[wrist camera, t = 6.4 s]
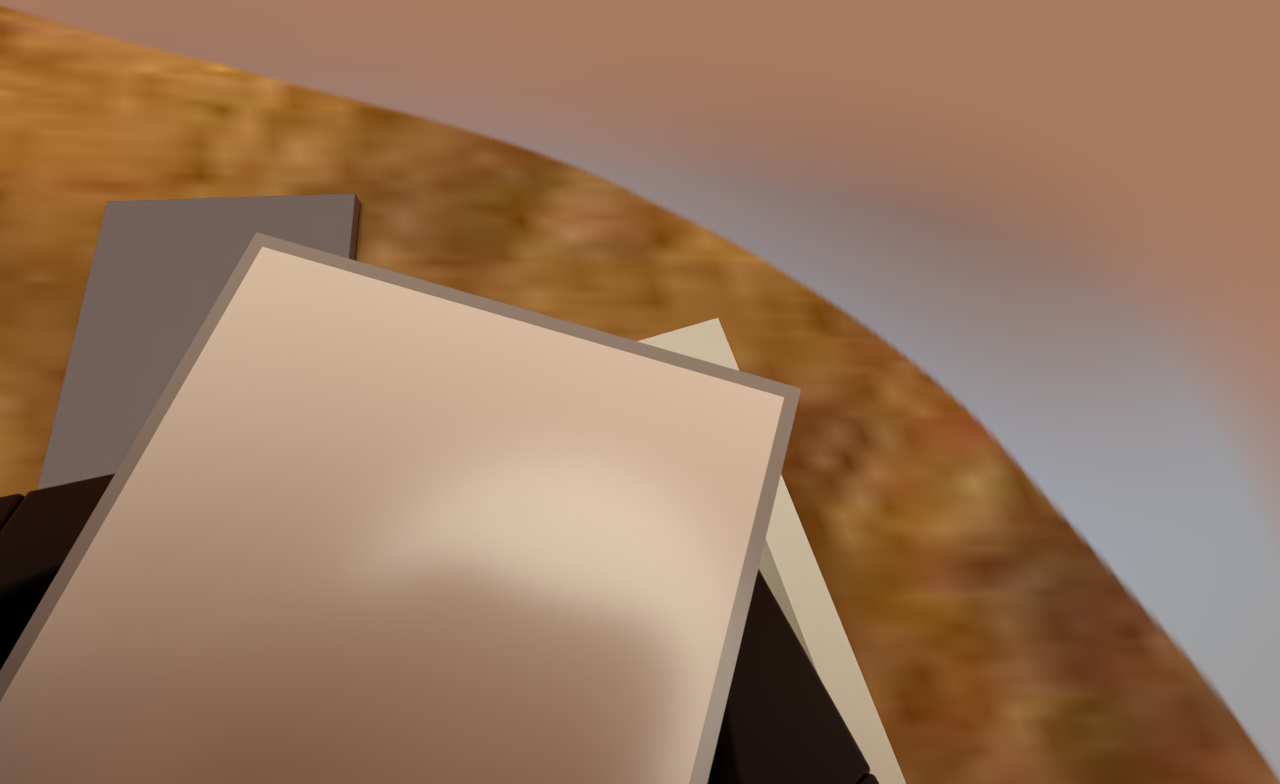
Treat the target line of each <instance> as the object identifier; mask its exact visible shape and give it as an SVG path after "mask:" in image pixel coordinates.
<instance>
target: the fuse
mask: <svg viewBox="0 0 1280 784" xmlns="http://www.w3.org/2000/svg"><path fill="white" fill-rule="evenodd" d="M800 391H801V388H797V387H794V386H790V385H787V384H783V383H780V382H776V381H773V380H770V379H766V378H763V377H759V376H756V375H752V374H749V373H745V372H742V371H738V370H735V369H731V368H728V367H724V366H721V365H717V364H714V363H710V362H707V361H703V360H700V359H696V358H693V357H689V356H686V355H682V354H679V353H675V352H672V351H668V350H665V349H662V348H658V347H655V346H651V345H648V344H644V343H641V342H637V341H634V340H630V339H627V338H623V337H620V336H616V335H613V334H609V333H606V332H602V331H599V330H595V329H592V328H588V327H585V326H581V325H578V324H574V323H571V322H567V321H564V320H561V319H557V318H554V317H550V316H547V315H543V314H540V313H536V312H533V311H529V310H526V309H522V308H519V307H515V306H512V305H508V304H505V303H501V302H498V301H494V300H491V299H487V298H484V297H480V296H477V295H473V294H470V293H466V292H463V291H460V290H456V289H453V288H449V287H446V286H442V285H439V284H435V283H432V282H428V281H425V280H421V279H418V278H414V277H411V276H407V275H404V274H400V273H397V272H393V271H390V270H386V269H383V268H379V267H376V266H372V265H369V264H365V263H362V262H359V261H355V260H352V259H348V258H345V257H341V256H338V255H334V254H331V253H327V252H324V251H320V250H317V249H313V248H310V247H306V246H303V245H299V244H296V243H292V242H289V241H285V240H282V239H278V238H275V237H271V236H268V235H264V234H261V233H258V232H256V234H255V235H254V237H253V239H252V241H251V242H250V244H249V246H248V247H247V249H246V251H245V253H244V254H243V256H242V258H241V259H240V261H239V263H238V264H237V266H236V268H235V270H234V271H233V273H232V275H231V276H230V278H229V280H228V282H227V283H226V285H225V287H224V288H223V290H222V292H221V294H220V295H219V297H218V299H217V300H216V302H215V304H214V306H213V307H212V309H211V311H210V312H209V314H208V316H207V318H206V319H205V321H204V323H203V324H202V326H201V328H200V330H199V331H198V333H197V335H196V336H195V338H194V340H193V342H192V343H191V345H190V347H189V348H188V350H187V352H186V354H185V355H184V357H183V359H182V360H181V362H180V364H179V365H178V367H177V369H176V371H175V372H174V374H173V376H172V377H171V379H170V381H169V383H168V384H167V386H166V388H165V389H164V391H163V393H162V395H161V396H160V398H159V400H158V401H157V403H156V405H155V407H154V408H153V410H152V412H151V413H150V415H149V417H148V419H147V420H146V422H145V424H144V425H143V427H142V429H141V431H140V432H139V434H138V436H137V437H136V439H135V441H134V443H133V444H132V446H131V448H130V449H129V451H128V453H127V455H126V456H125V458H124V460H123V461H122V463H121V465H120V467H119V468H118V470H117V472H116V473H115V475H114V477H113V478H112V480H111V482H110V484H109V485H108V487H107V489H106V490H105V492H104V494H103V496H102V497H101V499H100V501H99V502H98V504H97V506H96V508H95V509H94V511H93V513H92V514H91V516H90V518H89V520H88V521H87V523H86V525H85V526H84V528H83V530H82V532H81V533H80V535H79V537H78V538H77V540H76V542H75V544H74V545H73V547H72V549H71V550H70V552H69V554H68V556H67V557H66V559H65V561H64V562H63V564H62V566H61V568H60V569H59V571H58V573H57V574H56V576H55V578H54V580H53V581H52V583H51V585H50V586H49V588H48V590H47V591H46V593H45V595H44V597H43V598H42V600H41V602H40V603H39V605H38V607H37V609H36V610H35V612H34V614H33V615H32V617H31V619H30V621H29V622H28V624H27V626H26V627H25V629H24V631H23V633H22V634H21V636H20V638H19V639H18V641H17V643H16V645H15V646H14V648H13V650H12V651H11V653H10V655H9V657H8V658H7V660H6V662H5V663H4V665H3V667H2V669H1V670H0V784H707V783H708V778H709V774H710V770H711V766H712V762H713V757H714V753H715V749H716V745H717V740H718V736H719V732H720V728H721V724H722V719H723V715H724V711H725V707H726V703H727V698H728V694H729V690H730V686H731V682H732V677H733V673H734V669H735V665H736V661H737V656H738V652H739V648H740V644H741V640H742V635H743V631H744V627H745V623H746V619H747V614H748V610H749V606H750V602H751V598H752V593H753V589H754V585H755V581H756V576H757V572H758V568H759V564H760V560H761V555H762V551H763V547H764V543H765V539H766V534H767V530H768V526H769V522H770V518H771V513H772V509H773V505H774V501H775V497H776V492H777V488H778V484H779V480H780V476H781V471H782V467H783V463H784V459H785V455H786V450H787V446H788V442H789V438H790V434H791V429H792V425H793V421H794V417H795V412H796V408H797V404H798V400H799V396H800Z"/></svg>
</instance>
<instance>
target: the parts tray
mask: <svg viewBox="0 0 1280 784" xmlns="http://www.w3.org/2000/svg"><path fill="white" fill-rule="evenodd" d="M637 342H641V343H644V344H648V345H651V346H655V347H658V348H662V349H665V350H668V351H672V352H675V353H679V354H682V355H686V356H689V357H693V358H696V359H700V360H703V361H707V362H710V363H714V364H717V365H721V366H724V367H728V368H731V369H735V370H738V371H739V369H738V366H737V364H736V361H735V359H734V356H733V354H732V351H731V349H730V347H729V344H728V342H727V339H726V337H725V334H724V332H723V329H722V327H721V324H720V322H719V319H718V318H716V319H713V320H709V321H706V322H703V323H699V324H696V325H692V326H689V327H685V328H682V329H678V330H675V331H671V332H668V333H665V334H661V335H658V336H654V337H651V338H647V339H644V340H640V341H637ZM759 570H760V572H761V573H762V575H763V577H764V579H765V581H766V582H767V584H768V586H769V588H770V590H771V591H772V593H773V595H774V597H775V598H776V600H777V602H778V604H779V606H780V607H781V609H782V611H783V613H784V615H785V616H786V618H787V620H788V622H789V623H790V625H791V627H792V629H793V631H794V632H795V634H796V636H797V638H798V640H799V641H800V643H801V645H802V647H803V649H804V650H805V652H806V654H807V656H808V657H809V659H810V661H811V663H812V665H813V666H814V668H815V670H816V672H817V674H818V675H819V677H820V679H821V681H822V682H823V684H824V686H825V688H826V690H827V691H828V693H829V695H830V697H831V699H832V700H833V702H834V704H835V706H836V707H837V709H838V711H839V713H840V715H841V716H842V718H843V720H844V722H845V724H846V725H847V727H848V729H849V731H850V733H851V734H852V736H853V738H854V740H855V741H856V743H857V745H858V747H859V749H860V750H861V752H862V754H863V756H864V758H865V759H866V761H867V763H868V765H869V767H870V773H869V774H873V775H875V777H876V778H877V780H878V782H879V784H906V782H905V780H904V777H903V775H902V772H901V770H900V767H899V765H898V762H897V760H896V757H895V755H894V752H893V750H892V747H891V745H890V743H889V740H888V738H887V735H886V733H885V730H884V728H883V725H882V723H881V720H880V718H879V715H878V713H877V710H876V708H875V705H874V703H873V700H872V698H871V695H870V693H869V691H868V688H867V686H866V683H865V681H864V678H863V676H862V673H861V671H860V668H859V666H858V663H857V661H856V658H855V656H854V653H853V651H852V648H851V646H850V644H849V641H848V639H847V636H846V634H845V631H844V629H843V626H842V624H841V621H840V619H839V616H838V614H837V611H836V609H835V606H834V604H833V601H832V599H831V596H830V594H829V592H828V589H827V587H826V584H825V582H824V579H823V577H822V574H821V572H820V569H819V567H818V564H817V562H816V559H815V557H814V554H813V552H812V549H811V547H810V545H809V542H808V540H807V537H806V535H805V532H804V530H803V527H802V525H801V522H800V520H799V517H798V515H797V512H796V510H795V507H794V505H793V502H792V500H791V497H790V495H789V493H788V490H787V488H786V485H785V483H784V480H783V478H782V475H781V476H780V480H779V484H778V488H777V492H776V497H775V501H774V505H773V509H772V513H771V518H770V522H769V526H768V530H767V534H766V539H765V543H764V547H763V551H762V555H761V560H760V564H759Z"/></svg>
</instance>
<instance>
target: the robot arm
mask: <svg viewBox="0 0 1280 784" xmlns="http://www.w3.org/2000/svg"><path fill="white" fill-rule="evenodd" d="M114 475H115V473H114V474H109V475H104V476H100V477H95V478H90V479H86V480H81V481H76V482H72V483H67V484H62V485H57V486H53V487H48V488H43V489H39V490H34V491H30V492H28V493H27V494H26V496H25V497H24V496H23V495H22V494H14V495H9V496H5V497H0V670H1V669H2V667H3V665H4V663H5V662H6V660H7V658H8V657H9V655H10V653H11V651H12V650H13V648H14V646H15V645H16V643H17V641H18V639H19V638H20V636H21V634H22V633H23V631H24V629H25V627H26V626H27V624H28V622H29V621H30V619H31V617H32V615H33V614H34V612H35V610H36V609H37V607H38V605H39V603H40V602H41V600H42V598H43V597H44V595H45V593H46V591H47V590H48V588H49V586H50V585H51V583H52V581H53V580H54V578H55V576H56V574H57V573H58V571H59V569H60V568H61V566H62V564H63V562H64V561H65V559H66V557H67V556H68V554H69V552H70V550H71V549H72V547H73V545H74V544H75V542H76V540H77V538H78V537H79V535H80V533H81V532H82V530H83V528H84V526H85V525H86V523H87V521H88V520H89V518H90V516H91V514H92V513H93V511H94V509H95V508H96V506H97V504H98V502H99V501H100V499H101V497H102V496H103V494H104V492H105V490H106V489H107V487H108V485H109V484H110V482H111V480H112V478H113V477H114ZM869 773H870V767H869V765H868V763H867V761H866V759H865V758H864V756H863V754H862V752H861V750H860V749H859V747H858V745H857V743H856V741H855V740H854V738H853V736H852V734H851V733H850V731H849V729H848V727H847V725H846V724H845V722H844V720H843V718H842V716H841V715H840V713H839V711H838V709H837V707H836V706H835V704H834V702H833V700H832V699H831V697H830V695H829V693H828V691H827V690H826V688H825V686H824V684H823V682H822V681H821V679H820V677H819V675H818V674H817V672H816V670H815V668H814V666H813V665H812V663H811V661H810V659H809V657H808V656H807V654H806V652H805V650H804V649H803V647H802V645H801V643H800V641H799V640H798V638H797V636H796V634H795V632H794V631H793V629H792V627H791V625H790V623H789V622H788V620H787V618H786V616H785V615H784V613H783V611H782V609H781V607H780V606H779V604H778V602H777V600H776V598H775V597H774V595H773V593H772V591H771V590H770V588H769V586H768V584H767V582H766V581H765V579H764V577H763V575H762V573H761V572H760V570H759V568H758V572H757V576H756V581H755V585H754V589H753V593H752V598H751V602H750V606H749V610H748V614H747V619H746V623H745V627H744V631H743V635H742V640H741V644H740V648H739V652H738V656H737V661H736V665H735V669H734V673H733V677H732V682H731V686H730V690H729V694H728V698H727V703H726V707H725V711H724V715H723V719H722V724H721V728H720V732H719V736H718V740H717V745H716V749H715V753H714V757H713V762H712V766H711V770H710V774H709V778H708V783H707V784H879V782H878V780H877V778H876V777H875V775H873V774H869Z"/></svg>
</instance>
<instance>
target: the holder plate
mask: <svg viewBox="0 0 1280 784" xmlns="http://www.w3.org/2000/svg"><path fill="white" fill-rule="evenodd" d="M359 211H360V201H359V199H358V198H357V196H356V194H326V195H295V196H263V197H231V198H200V199H168V200H136V201H107V204H106V208H105V212H104V217H103V221H102V225H101V229H100V233H99V237H98V241H97V246H96V250H95V254H94V258H93V262H92V266H91V270H90V275H89V279H88V283H87V287H86V291H85V295H84V299H83V304H82V308H81V312H80V316H79V320H78V324H77V328H76V333H75V337H74V341H73V345H72V349H71V353H70V357H69V362H68V366H67V370H66V374H65V378H64V382H63V386H62V391H61V395H60V399H59V403H58V407H57V411H56V415H55V420H54V424H53V428H52V432H51V436H50V440H49V444H48V448H47V453H46V457H45V461H44V465H43V469H42V473H41V477H40V482H39V486H38V490H39V489H43V488H48V487H53V486H57V485H62V484H67V483H72V482H76V481H81V480H86V479H90V478H95V477H100V476H104V475H109V474H114V473H116V472H117V470H118V468H119V467H120V465H121V463H122V461H123V460H124V458H125V456H126V455H127V453H128V451H129V449H130V448H131V446H132V444H133V443H134V441H135V439H136V437H137V436H138V434H139V432H140V431H141V429H142V427H143V425H144V424H145V422H146V420H147V419H148V417H149V415H150V413H151V412H152V410H153V408H154V407H155V405H156V403H157V401H158V400H159V398H160V396H161V395H162V393H163V391H164V389H165V388H166V386H167V384H168V383H169V381H170V379H171V377H172V376H173V374H174V372H175V371H176V369H177V367H178V365H179V364H180V362H181V360H182V359H183V357H184V355H185V354H186V352H187V350H188V348H189V347H190V345H191V343H192V342H193V340H194V338H195V336H196V335H197V333H198V331H199V330H200V328H201V326H202V324H203V323H204V321H205V319H206V318H207V316H208V314H209V312H210V311H211V309H212V307H213V306H214V304H215V302H216V300H217V299H218V297H219V295H220V294H221V292H222V290H223V288H224V287H225V285H226V283H227V282H228V280H229V278H230V276H231V275H232V273H233V271H234V270H235V268H236V266H237V264H238V263H239V261H240V259H241V258H242V256H243V254H244V253H245V251H246V249H247V247H248V246H249V244H250V242H251V241H252V239H253V237H254V235H255V234H256V232H258V233H261V234H264V235H268V236H271V237H275V238H278V239H282V240H285V241H289V242H292V243H296V244H299V245H303V246H306V247H310V248H313V249H317V250H320V251H324V252H327V253H331V254H334V255H338V256H341V257H345V258H348V259H352V260H355V252H356V242H357V232H358V221H359Z"/></svg>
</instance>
